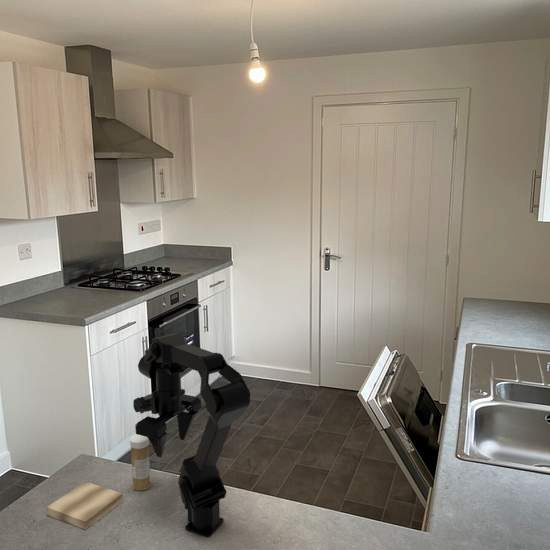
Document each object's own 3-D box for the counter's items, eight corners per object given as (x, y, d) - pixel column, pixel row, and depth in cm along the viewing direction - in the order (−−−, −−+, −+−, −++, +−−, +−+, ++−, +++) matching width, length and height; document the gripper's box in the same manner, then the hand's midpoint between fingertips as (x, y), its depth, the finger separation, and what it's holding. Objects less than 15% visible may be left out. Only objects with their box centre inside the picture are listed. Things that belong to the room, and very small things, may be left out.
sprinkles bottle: (134, 482, 140) (131, 433, 137) (152, 481, 140) (149, 432, 138) (131, 492, 135) (128, 442, 133) (149, 491, 136) (147, 441, 133)
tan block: (122, 501, 132) (122, 493, 131) (85, 529, 121) (85, 521, 121) (86, 488, 137) (85, 481, 137) (47, 515, 126) (46, 507, 126)
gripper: (165, 369, 140) (167, 425, 143) (115, 395, 123) (118, 458, 126) (201, 376, 135) (203, 434, 138) (154, 404, 119) (157, 469, 122)
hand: (171, 448), depth 131 cm, fingers open, 9 cm apart
